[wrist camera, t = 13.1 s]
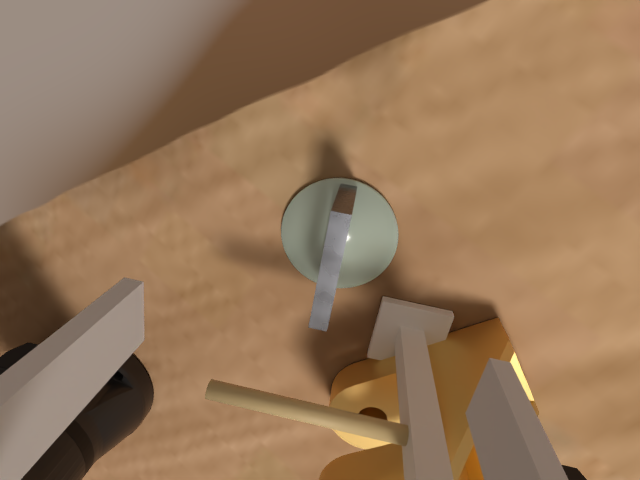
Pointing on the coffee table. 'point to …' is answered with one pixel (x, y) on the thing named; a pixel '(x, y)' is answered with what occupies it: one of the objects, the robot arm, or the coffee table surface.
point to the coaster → (363, 236)
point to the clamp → (452, 392)
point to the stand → (412, 381)
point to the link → (332, 256)
